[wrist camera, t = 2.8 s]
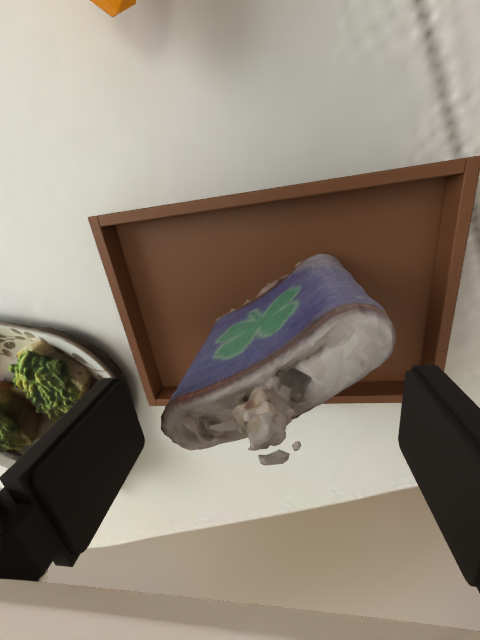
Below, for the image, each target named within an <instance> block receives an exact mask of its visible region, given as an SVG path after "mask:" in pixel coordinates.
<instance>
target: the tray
mask: <svg viewBox="0 0 480 640" xmlns="http://www.w3.org/2000/svg"><path fill="white" fill-rule="evenodd" d="M479 171H480V156H474V157H468V158H462V159H455V160H449V161H443V162H436V163H430V164H423V165H417V166H411V167H404V168H398V169H392V170H385V171H379V172H372V173H366V174H360V175H353V176H347V177H341V178H334V179H328V180H321V181H315V182H309V183H302V184H296V185H290V186H283V187H277V188H270V189H264V190H258V191H251V192H245V193H239V194H232V195H226V196H219V197H213V198H207V199H200V200H194V201H188V202H181V203H175V204H168V205H162V206H156V207H149V208H143V209H137V210H130V211H124V212H117V213H111V214H105V215H99V216H92V217H88V220H89V223H90V226H91V229H92V232H93V235H94V238H95V242H96V245H97V248H98V251H99V254H100V257H101V260H102V263H103V266H104V269H105V272H106V275H107V278H108V281H109V284H110V287H111V290H112V293H113V296H114V299H115V302H116V305H117V308H118V311H119V314H120V317H121V321H122V324H123V327H124V330H125V333H126V336H127V339H128V342H129V345H130V348H131V351H132V354H133V357H134V360H135V363H136V366H137V369H138V372H139V375H140V378H141V381H142V384H143V387H144V390H145V393H146V397H147V400H148V403H149V406H166V405H167V404H168V402H169V401H170V399H171V397H172V394H173V393H174V392H175V391H176V390H177V388H178V385H179V383H180V382H181V381H182V379H183V377H184V376H185V374H186V373H187V370H188V369H189V367H190V366H191V364H192V362H193V361H194V359H195V357H196V356H197V353H198V352H199V350H200V348H201V347H202V345H203V344H204V343H205V341H206V339H207V337H208V335H209V334H210V332H211V331H212V328H213V326H214V324H215V322H216V320H217V319H218V318H220V317H221V316H223V315H224V314H227V313H228V312H230V311H231V309H233V310H234V309H239V308H240V307H242V306H243V305H244V303H245V302H246V299H247V300H250V301H251V300H253V299H255V298H256V297H257V296H258V294H259V293H260V291H261V290H262V288H264V287H266V286H267V284H268V283H269V284H270V283H272V282H273V281H275V280H276V279H278V280H279V279H280V278H282V277H284V276H285V275H287V274H289V273H290V272H292V271H293V269H295V268H296V267H295V265H296V264H298V263H299V262H302V261H304V260H306V259H307V258H309V257H312V256H313V255H316V254H318V253H325V254H329V255H332V256H334V257H335V258H336V259H338V260H339V262H340V263H341V265H342V266H343V267H344V268H345V270H347V271H348V272H349V273H351V275H352V277H353V278H354V280H355V281H356V283H357V284H359V285H360V286H361V287H362V288H363V289H364V291H365V292H366V294H367V295H368V296H369V297H370V298H372V299H373V300H375V301H376V302H378V303H379V304H380V305H381V306H382V307H383V309H384V310H385V311H386V313H387V315H388V317H389V318H390V320H391V322H392V324H393V326H394V328H395V333H396V344H395V347H394V350H393V352H392V354H391V355H390V356H389V358H388V359H387V360H386V361H385V362H384V363H383V364H382V365H381V366H379V367H378V368H376V369H374V370H372V371H371V372H370V373H369V374H368V375H366V376H365V377H364V378H363V379H361V380H360V381H358V382H356V383H354V384H353V385H351V386H349V387H348V388H346V389H344V390H343V391H341V392H339V393H338V394H336V395H335V396H333V397H332V398H330V399H329V400H328V401H326V402H325V403H323V404H336V403H402V398H403V389H404V379H405V373H406V371H407V370H411V368H412V366H414V365H432V364H434V365H437V366H438V367H440V368H441V369H442V371H443V372H444V368H445V363H446V357H447V351H448V346H449V340H450V334H451V329H452V323H453V317H454V312H455V306H456V300H457V295H458V289H459V284H460V278H461V272H462V267H463V261H464V255H465V250H466V244H467V238H468V233H469V227H470V222H471V216H472V210H473V205H474V199H475V193H476V188H477V182H478V176H479Z"/></svg>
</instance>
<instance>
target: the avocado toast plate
mask: <svg viewBox="0 0 480 640" xmlns="http://www.w3.org/2000/svg"><path fill="white" fill-rule="evenodd" d="M116 377H118V378H120V379H121V380H122V381H123V382H125V383H126V386H127V388H128V391H129V394H130V397H131V400H132V403H133V399H132V395H131V392H130V389H129V387H128V384H127V382H126V380H125V378H124V376H123V375H122V373H121V371H120V369H119V368H118V366H117V365H116V364H115V363H114V362H113V361H112V360H111V359H110V358H109V357H108V356H106V355H105V354H103V353H102V352H100V351H99V350H97V349H95V348H94V347H92V346H91V345H89V344H87V343H86V342H84V341H82V340H79V339H77V338H75V337H72V336H70V335H68V334H66V333H64V332H61V331H58V330H55V329H51V328H31V327H25V326H19V325H16V324H10V323H6V322H0V466H3V467H6V468H10V467H11V466H12V465H13V464H14V463H15V462H16V461H17V460H18V459H19V458H20V457H21V456H22V455H23V454H24V453H25V452H26V451H27V450H28V449H29V448H30V447H31V446H32V445H34V444H35V443H36V442H37V441H38V440H39V439H40V438H41V437H42V436H43V435H44V434H45V433H46V432H47V431H48V430H49V429H50V428H51V427H52V426H53V425H54V424H55V423H56V422H57V421H58V420H59V419H60V418H61V417H62V416H63V415H64V414H65V413H66V412H67V411H68V410H69V409H70V408H71V407H73V406H74V405H75V404H76V403H77V402H78V401H79V400H80V399H81V398H82V397H83V396H84V395H85V394H86V393H87V392H88V391H89V390H90V389H91V388H92V387H93V386H94V385H95V384H96V383H97V382H98V381H99V380H100V379H102V378H116ZM133 406H134V404H133Z"/></svg>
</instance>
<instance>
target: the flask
mask: <svg viewBox="0 0 480 640" xmlns="http://www.w3.org/2000/svg"><path fill="white" fill-rule="evenodd" d="M295 267H296V268H295V269H293V271H292V272H290V273H289V274H287V275H285V276H284V277H282V278H280V279H279V280H278V279H276V280H275V281H273V282H272V283H270V284H269V283H268V284H267V286H266V287H264V288H262V290H261V291H260V293H259V294H258V296H257V297H256V298H255V299H253V300H251V301H250V300H247V299H246V302H245V303H244V305H243V306H242V307H240V308H239V309H234V310H233V309H231V311H230V312H228V313H227V314H224V315H223V316H221V317H220V318H218V319H217V320H216V322H215V324H214V326H213V328H212V331H211V332H210V334H209V335H208V337H207V339H206V341H205V343H204V344H203V345H202V347H201V348H200V350H199V352H198V353H197V356H196V357H195V359H194V361H193V362H192V364H191V366H190V367H189V369H188V370H187V373H186V374H185V376H184V377H183V379H182V381H181V382H180V383H179V385H178V388H177V390H176V391H175V392H174V393H173V394H172V397H171V399H170V401H169V402H168V404H167V405H166V407H165V410H164V412H163V413H162V416H161V430H162V431H163V433H164V434H165V435H166V436H168V437H169V438H170V439H171V440H172V442H174V443H176V444H178V445H179V446H181V447H182V448H185V449H188V450H196V449H199V450H200V449H205V448H210V447H213V446H215V445H218V444H222V443H226V442H231V441H236V440H240V439H243V438H247V437H248V438H249V440H250V448H248V450H254V451H255V450H259V449H267V448H268V447H269V446H270V445H272V446H276V445H279V444H281V443H282V442H283V440H284V439H285V438H286V432H285V429H286V425H288V424H289V423H290V422H291V420H292V419H295V418H298V417H299V416H300V415H301V414H303V413H305V412H307V411H309V410H311V409H313V408H314V407H316V406H318V405H321V404H323V403H325V402H326V401H328V400H329V399H330V398H332V397H333V396H335V395H336V394H338V393H339V392H341V391H343V390H344V389H346V388H348V387H349V386H351V385H353V384H354V383H356V382H358V381H360V380H361V379H363V378H364V377H365V376H366V375H368V374H369V373H370V372H371V371H372V370H374V369H376V368H378V367H379V366H381V365H382V364H383V363H384V362H385V361H386V360H387V359H388V358H389V356H390V355H391V354H392V352H393V350H394V347H395V344H396V333H395V328H394V326H393V324H392V322H391V320H390V318H389V317H388V315H387V313H386V311H385V310H384V309H383V307H382V306H381V305H380V304H379V303H378V302H376V301H375V300H373V299H372V298H370V297H369V296H368V295H367V294H366V292H365V291H364V289H363V288H362V287H361V286H360V285H359V284H357V283H356V281H355V280H354V278H353V277H352V275H351V273H349V272H348V271H347V270H345V268H344V267H343V266H342V265H341V263H340V262H339V260H338V259H336V258H335V257H334V256H332V255H329V254H325V253H318V254H316V255H313V256H312V257H309V258H307V259H306V260H304V261H302V262H299V263H298V264H296V265H295ZM292 446H293V449H294V451H297V450H299V449H300V447H301V444H300V441H299V442H295V443H294V444H293V445H292ZM288 458H289V453H286V452H284V451H282V450H278V451H275V452H273V453H271V454H268V455H259V460H260V463H261V464H263V465H275V464H283V463H284V462H286V461H287V460H288Z"/></svg>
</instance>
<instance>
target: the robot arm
mask: <svg viewBox="0 0 480 640" xmlns="http://www.w3.org/2000/svg"><path fill="white" fill-rule="evenodd" d="M398 440H399V446H400V449H401V451H402V453H403V455H404V457H405V459H406V461H407V464H408V466H409V468H410V470H411V472H412V474H413V476H414V478H415V480H416V482H417V484H418V486H419V488H420V490H421V492H422V494H423V496H424V498H425V500H426V502H427V504H428V506H429V508H430V510H431V512H432V514H433V516H434V518H435V520H436V522H437V524H438V526H439V528H440V530H441V532H442V534H443V536H444V538H445V540H446V542H447V544H448V546H449V548H450V550H451V552H452V554H453V556H454V558H455V560H456V562H457V564H458V566H459V568H460V570H461V572H462V574H463V576H464V578H465V580H466V581H467V582H468V584H469V585H470V586H475V587H477V589H478V591H479V593H480V408H479V407H478V406H477V405H476V404H475V403H474V402H473V401H472V400H471V399H470V398H469V397H468V396H467V395H466V394H465V393H464V392H463V391H462V390H461V389H460V388H459V387H458V386H457V385H456V384H455V383H454V382H453V381H452V380H451V379H450V378H449V377H448V376H447V375H446V374H445V373H444V372H443V371H442V369H441V368H440V367H438V366H437V365H434V364H432V365H414V366H412V368H411V370H407V371H406V373H405V379H404V389H403V398H402V408H401V417H400V427H399V436H398ZM144 443H145V438H144V435H143V432H142V429H141V426H140V423H139V420H138V417H137V415H136V412H135V409H134V406H133V403H132V400H131V397H130V394H129V391H128V388H127V386H126V383H125V382H123V381H122V380H121V379H120V378H118V377H116V378H102V379H100V380H99V381H98V382H97V383H96V384H95V385H94V386H93V387H92V388H91V389H90V390H89V391H88V392H87V393H86V394H85V395H84V396H83V397H82V398H81V399H80V400H79V401H78V402H77V403H76V404H75V405H74V406H73V407H71V408H70V409H69V410H68V411H67V412H66V413H65V414H64V415H63V416H62V417H61V418H60V419H59V420H58V421H57V422H56V423H55V424H54V425H53V426H52V427H51V428H50V429H49V430H48V431H47V432H46V433H45V434H44V435H43V436H42V437H41V438H40V439H39V440H38V441H37V442H36V443H35V444H34V445H32V446H31V447H30V448H29V449H28V450H27V451H26V452H25V453H24V454H23V455H22V456H21V457H20V458H19V459H18V460H17V461H16V462H15V463H14V464H13V465H12V466H11V467H10V468H9V469H8V470H7V471H6V472H5V473H4V474H3V475H2V476H1V477H0V480H1V482H2V483H3V485H4V486H5V487H4V488H3V489H2V490H1V491H0V640H480V631H474V630H467V629H459V628H452V627H445V626H437V625H430V624H421V623H414V622H407V621H398V620H390V619H380V618H372V617H363V616H354V615H345V614H337V613H328V612H318V611H310V610H301V609H292V608H283V607H275V606H266V605H257V604H247V603H238V602H229V601H219V600H210V599H201V598H191V597H182V596H172V595H163V594H154V593H143V592H135V591H125V590H116V589H105V588H96V587H85V586H76V585H66V584H56V583H55V584H54V583H47V572H48V571H47V569H48V568H49V566H50V564H51V563H52V561H53V562H54V563H55V565H58V566H68V567H73V565H74V564H75V562H76V560H77V559H78V557H79V555H80V553H82V552H84V551H85V550H86V549H87V547H88V546H89V544H90V542H91V540H92V539H93V537H94V535H95V533H96V532H97V530H98V528H99V526H100V524H101V523H102V521H103V519H104V517H105V515H106V514H107V512H108V510H109V508H110V507H111V505H112V503H113V501H114V499H115V498H116V496H117V494H118V492H119V490H120V489H121V487H122V485H123V483H124V481H125V480H126V478H127V476H128V474H129V473H130V471H131V469H132V467H133V465H134V464H135V462H136V460H137V458H138V456H139V455H140V453H141V451H142V449H143V447H144Z"/></svg>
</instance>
